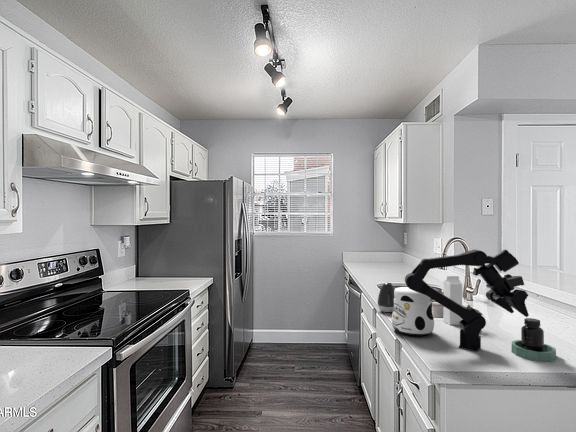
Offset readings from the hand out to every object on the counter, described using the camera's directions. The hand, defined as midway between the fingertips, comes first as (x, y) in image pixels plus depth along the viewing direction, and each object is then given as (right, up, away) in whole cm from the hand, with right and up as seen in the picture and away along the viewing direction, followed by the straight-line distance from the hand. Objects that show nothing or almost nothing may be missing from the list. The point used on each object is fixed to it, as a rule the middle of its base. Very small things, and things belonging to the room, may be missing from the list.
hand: (519, 314), depth 136 cm
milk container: (-32, -14, +22) cm, 41 cm away
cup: (+3, -14, -3) cm, 14 cm away
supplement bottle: (+3, -13, -3) cm, 14 cm away
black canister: (-34, -14, +57) cm, 67 cm away
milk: (-9, -14, +37) cm, 40 cm away
